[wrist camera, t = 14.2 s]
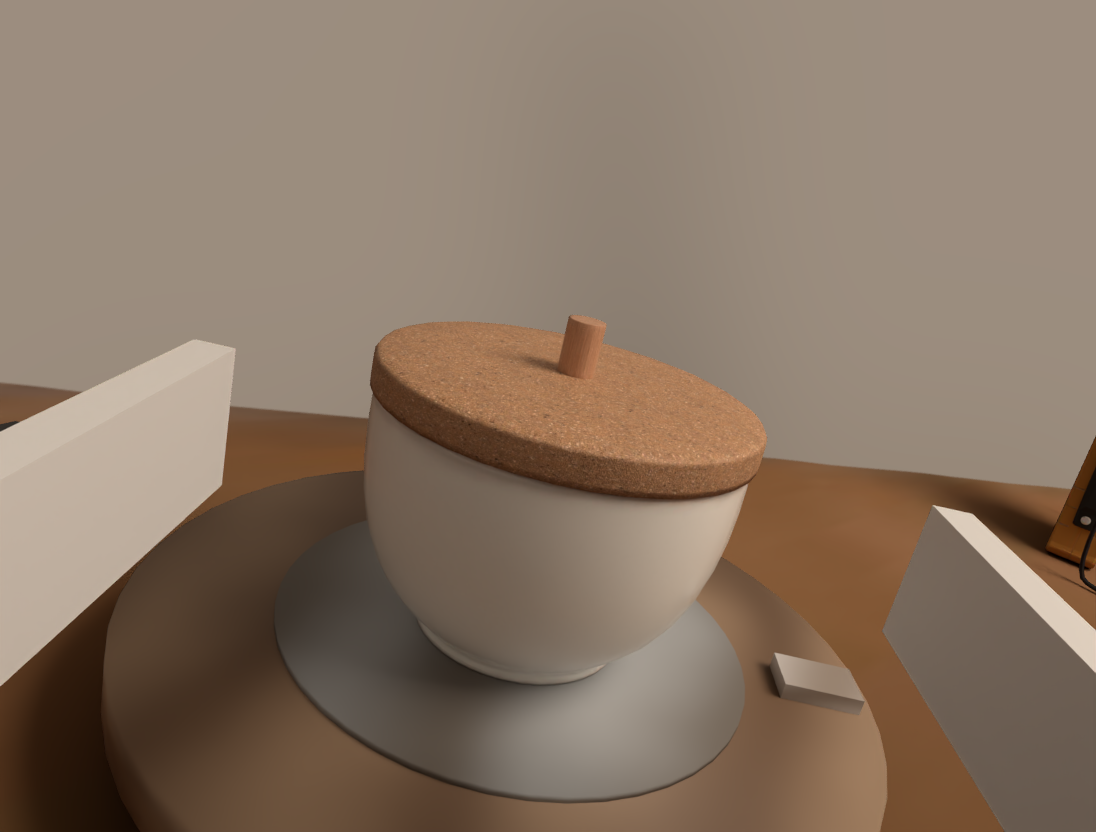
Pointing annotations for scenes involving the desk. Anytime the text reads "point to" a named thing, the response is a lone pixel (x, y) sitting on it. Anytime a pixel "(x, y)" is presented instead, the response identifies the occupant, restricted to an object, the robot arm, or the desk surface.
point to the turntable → (454, 702)
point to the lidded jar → (547, 492)
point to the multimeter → (1078, 520)
